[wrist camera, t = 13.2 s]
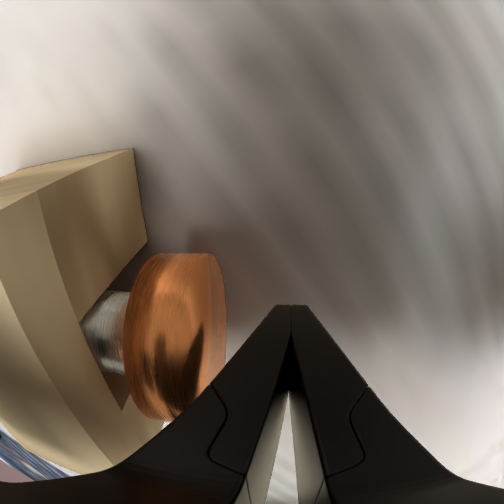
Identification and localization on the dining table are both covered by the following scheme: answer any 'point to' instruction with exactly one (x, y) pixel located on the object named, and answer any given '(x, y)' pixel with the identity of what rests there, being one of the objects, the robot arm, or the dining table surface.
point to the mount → (66, 308)
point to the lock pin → (163, 332)
